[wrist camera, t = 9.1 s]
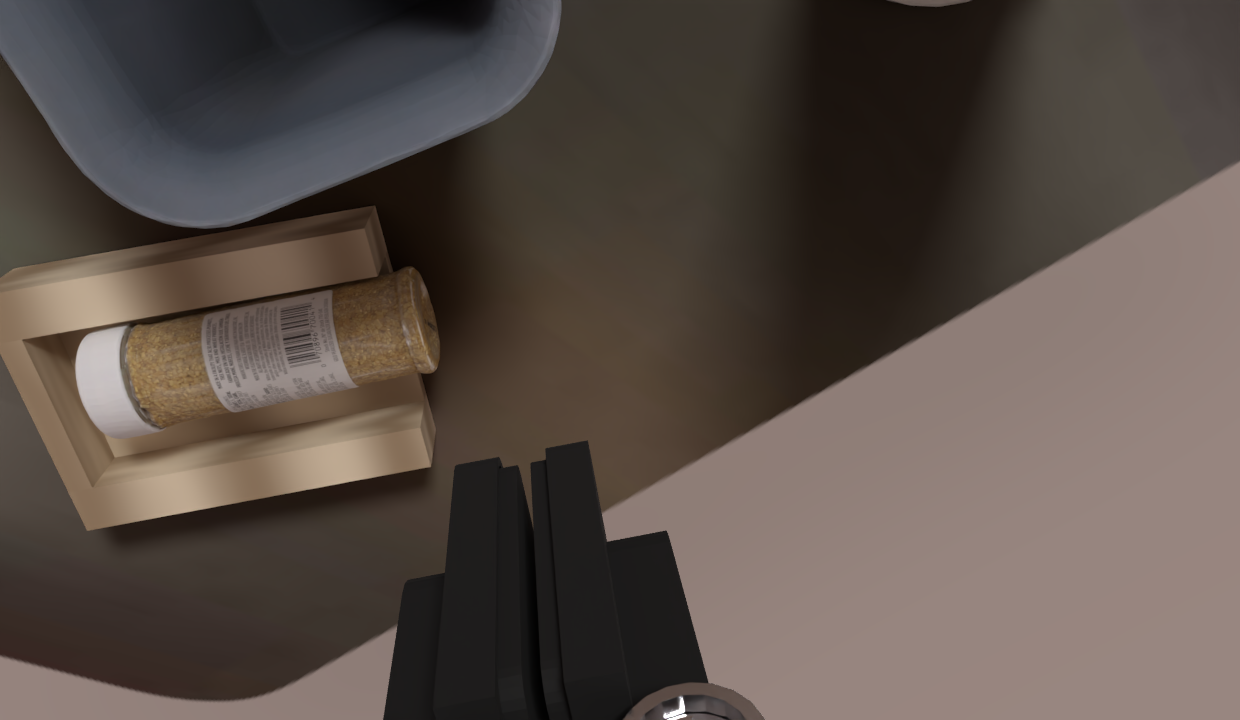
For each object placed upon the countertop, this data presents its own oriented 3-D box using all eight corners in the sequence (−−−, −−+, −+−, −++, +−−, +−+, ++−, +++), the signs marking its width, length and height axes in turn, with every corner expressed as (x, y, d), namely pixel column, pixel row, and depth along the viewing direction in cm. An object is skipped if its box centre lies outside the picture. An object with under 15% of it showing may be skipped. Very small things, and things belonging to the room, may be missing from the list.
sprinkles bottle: (424, 260, 40) (112, 323, 39) (408, 269, 35) (55, 340, 35) (448, 362, 41) (143, 425, 40) (435, 383, 36) (92, 455, 36)
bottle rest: (375, 205, 39) (364, 228, 36) (435, 429, 43) (431, 466, 40) (14, 268, 38) (-28, 297, 35) (116, 488, 43) (87, 530, 40)
